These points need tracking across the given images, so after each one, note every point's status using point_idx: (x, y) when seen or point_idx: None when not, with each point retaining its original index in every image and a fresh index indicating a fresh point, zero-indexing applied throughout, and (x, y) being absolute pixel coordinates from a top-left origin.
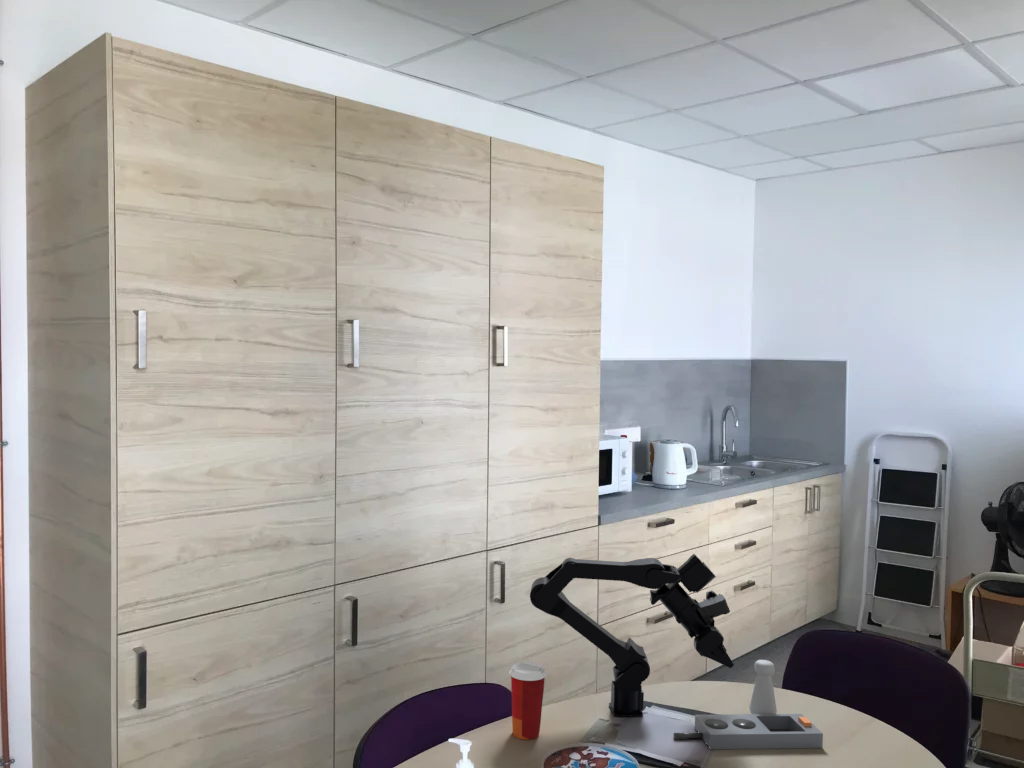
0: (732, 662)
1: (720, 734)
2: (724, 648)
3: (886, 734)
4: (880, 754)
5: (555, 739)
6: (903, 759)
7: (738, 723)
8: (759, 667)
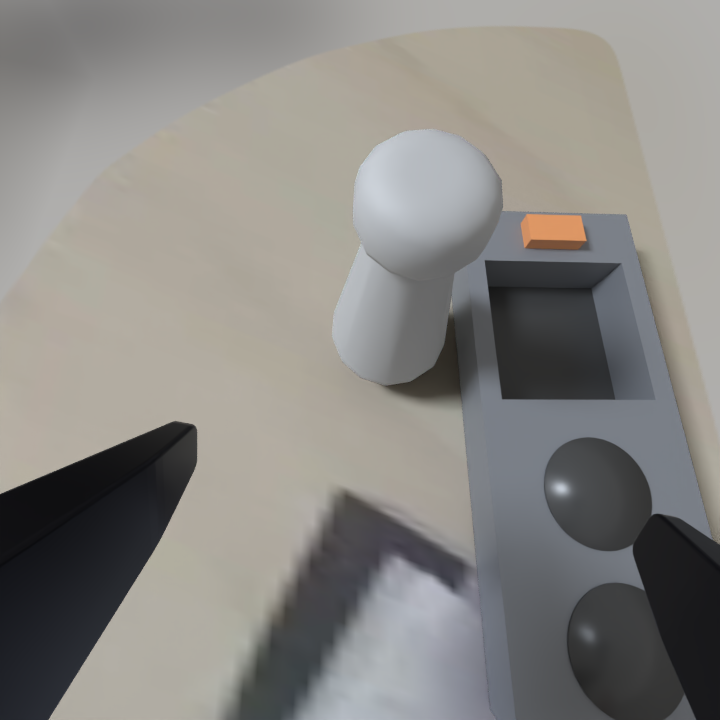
0: (715, 542)
1: None
2: (175, 447)
3: (476, 50)
4: (606, 119)
5: None
6: (624, 85)
7: (603, 520)
8: (476, 245)
